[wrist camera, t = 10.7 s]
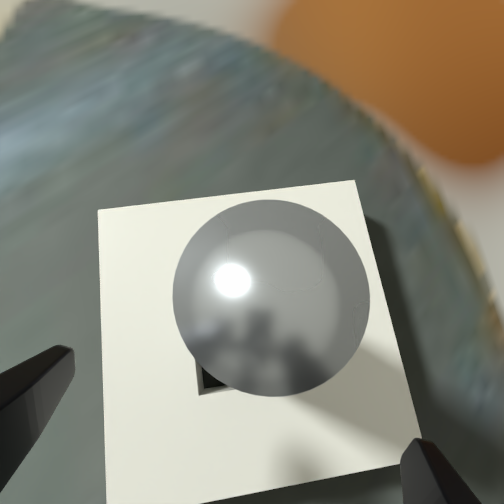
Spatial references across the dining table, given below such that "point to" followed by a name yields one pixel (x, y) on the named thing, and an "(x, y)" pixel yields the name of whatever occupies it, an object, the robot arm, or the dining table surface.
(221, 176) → the dining table surface
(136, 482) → the bore plate
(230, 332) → the metal peg
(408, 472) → the robot arm
